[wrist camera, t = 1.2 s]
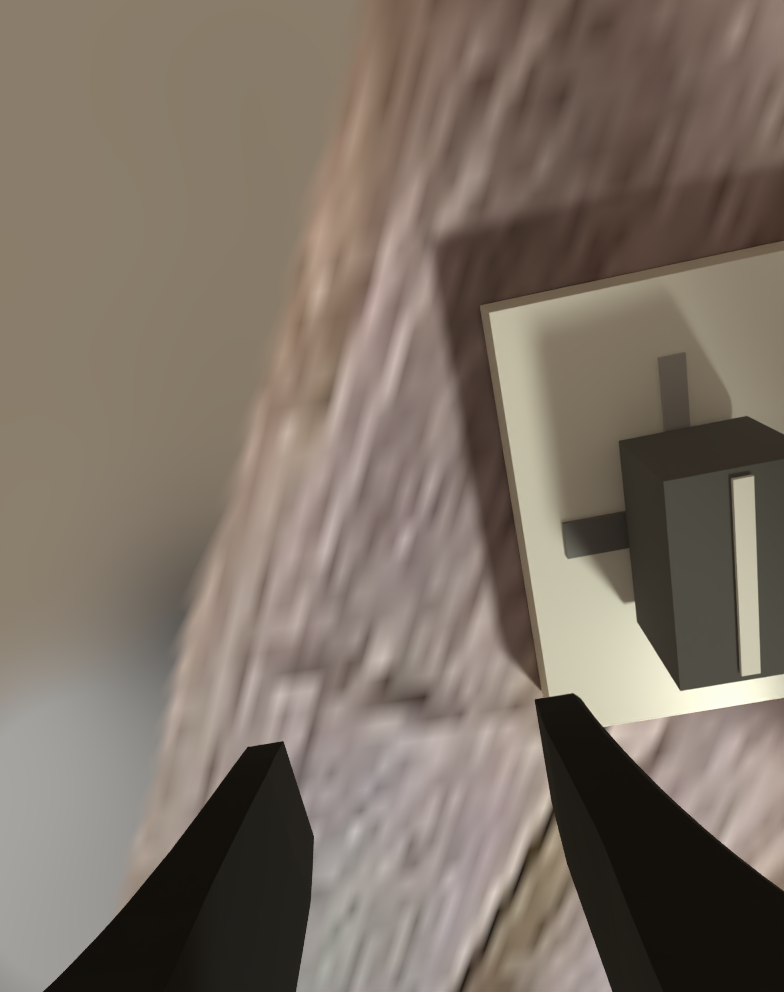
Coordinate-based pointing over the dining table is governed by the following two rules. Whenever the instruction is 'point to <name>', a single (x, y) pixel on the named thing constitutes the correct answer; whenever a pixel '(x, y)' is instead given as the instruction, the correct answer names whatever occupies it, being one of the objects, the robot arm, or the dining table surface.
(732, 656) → the fader knob
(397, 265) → the dining table surface
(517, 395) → the fader console
